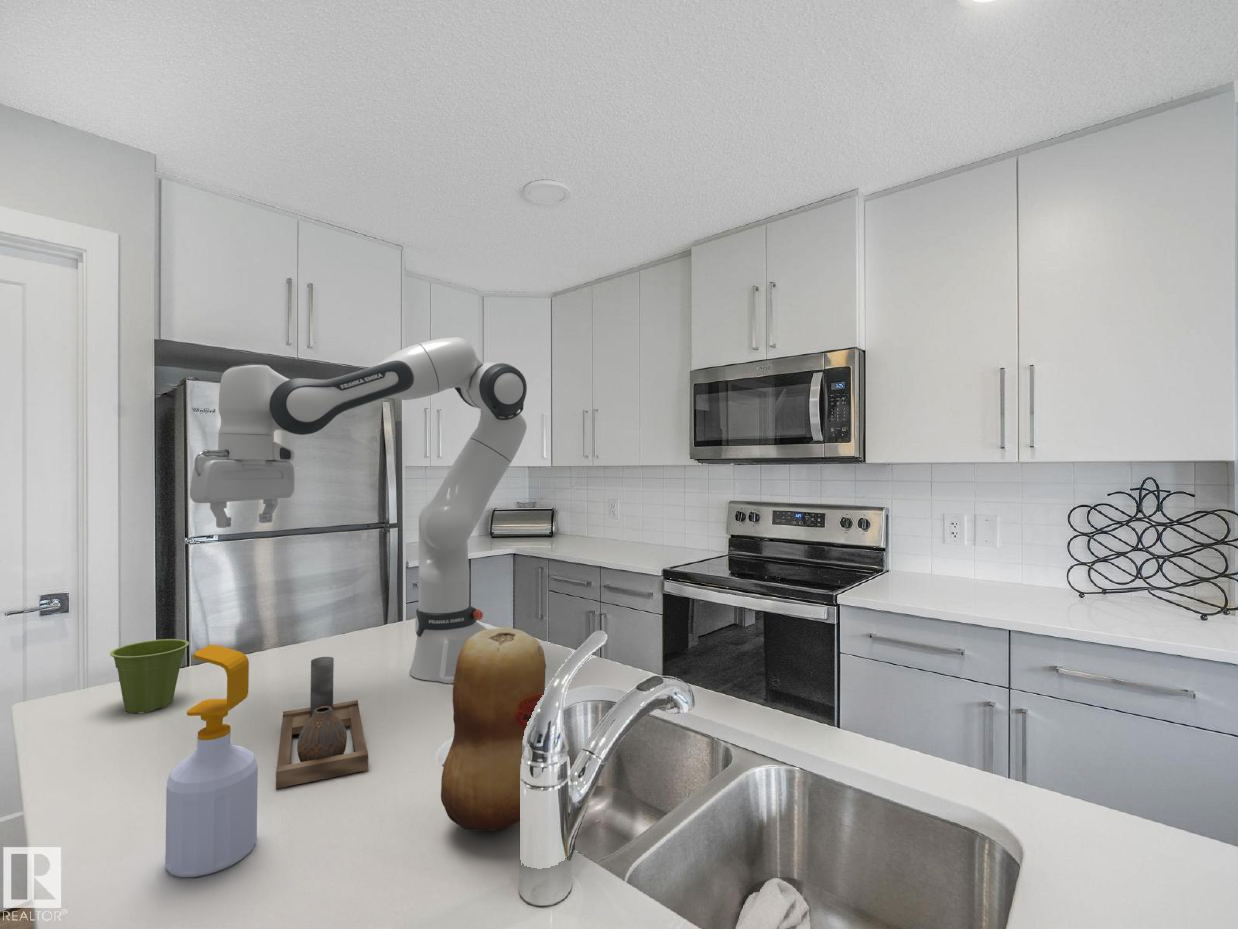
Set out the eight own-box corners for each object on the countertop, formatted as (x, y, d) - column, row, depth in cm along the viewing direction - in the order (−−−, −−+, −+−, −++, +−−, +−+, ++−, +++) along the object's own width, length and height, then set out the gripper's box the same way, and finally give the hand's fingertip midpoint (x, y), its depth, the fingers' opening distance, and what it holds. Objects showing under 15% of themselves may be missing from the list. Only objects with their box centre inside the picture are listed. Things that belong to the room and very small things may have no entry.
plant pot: (190, 708, 114) (191, 648, 114) (108, 725, 106) (109, 661, 106) (185, 689, 123) (186, 634, 123) (109, 704, 115) (110, 645, 115)
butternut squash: (497, 871, 69) (500, 655, 69) (418, 833, 76) (421, 636, 76) (568, 813, 81) (570, 628, 81) (494, 784, 88) (496, 614, 88)
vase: (355, 756, 96) (355, 701, 96) (331, 778, 89) (332, 719, 89) (313, 753, 97) (314, 699, 97) (286, 776, 90) (287, 717, 90)
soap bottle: (195, 832, 76) (198, 638, 76) (270, 829, 77) (273, 637, 77) (145, 881, 67) (148, 661, 67) (231, 878, 68) (234, 660, 68)
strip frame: (357, 713, 112) (358, 649, 112) (367, 770, 91) (369, 692, 91) (282, 725, 106) (283, 658, 106) (275, 788, 86) (277, 706, 86)
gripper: (211, 449, 101) (210, 531, 101) (300, 452, 121) (299, 520, 121) (180, 449, 102) (179, 530, 102) (274, 452, 122) (273, 519, 122)
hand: (245, 525), depth 112 cm, fingers open, 8 cm apart
